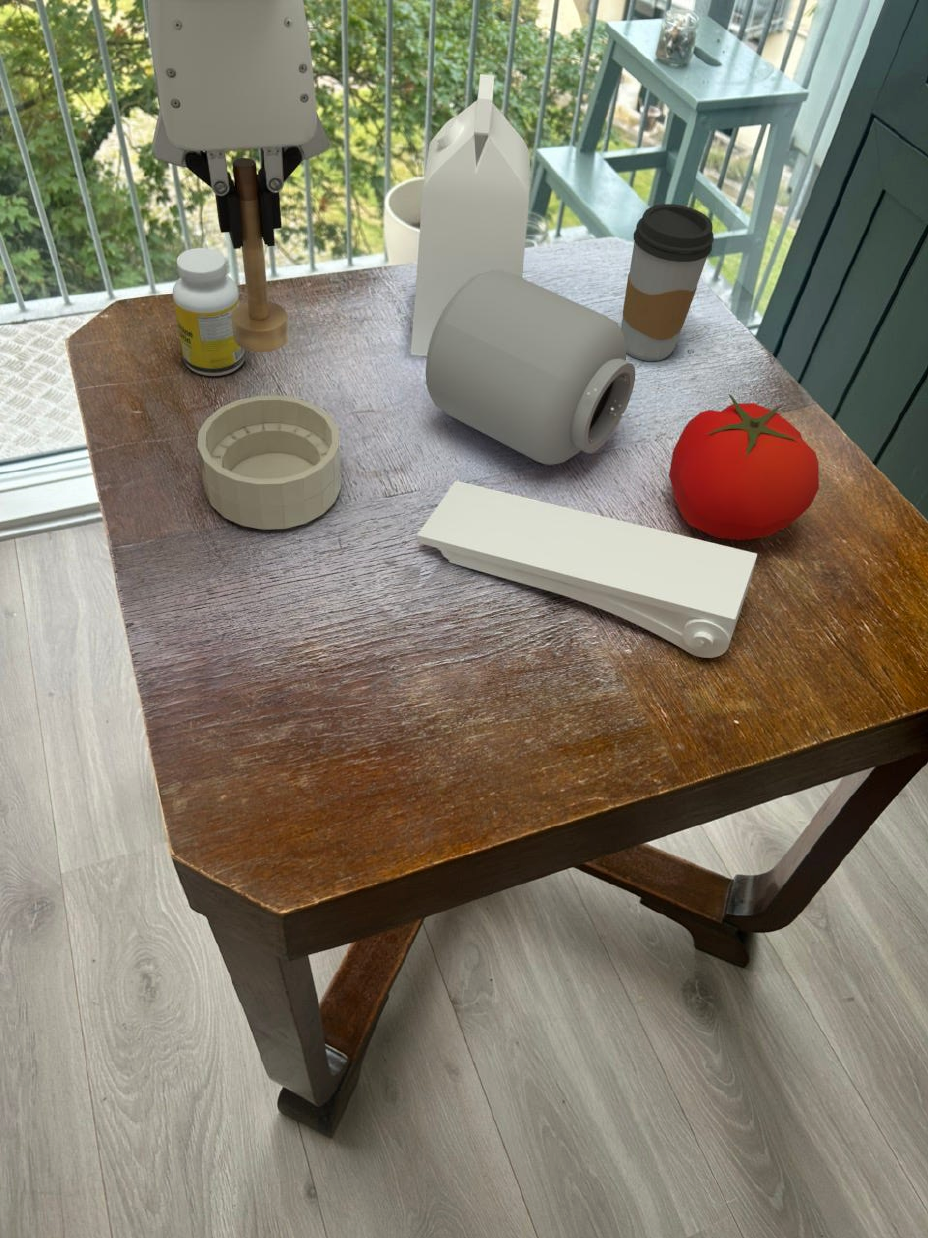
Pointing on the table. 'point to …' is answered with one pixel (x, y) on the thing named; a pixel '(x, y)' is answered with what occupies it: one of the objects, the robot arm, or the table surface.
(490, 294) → the jar
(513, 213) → the milk
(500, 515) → the wall bracket
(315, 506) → the bowl
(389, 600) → the table surface
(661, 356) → the coffee cup
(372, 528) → the table surface
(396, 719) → the table surface
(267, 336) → the stirrer
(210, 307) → the pill bottle
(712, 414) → the tomato
